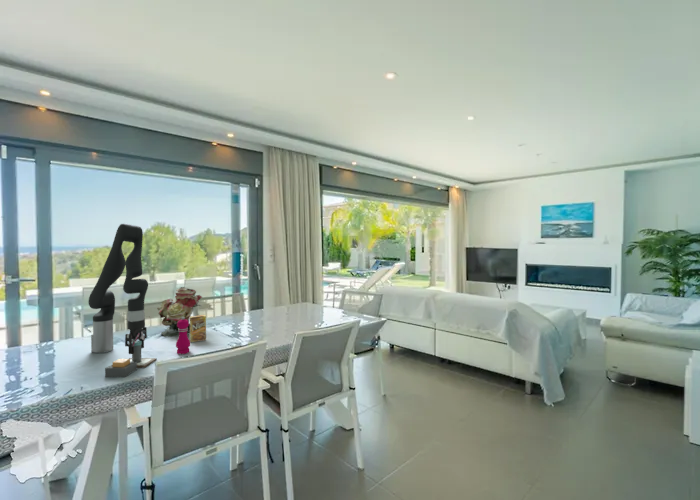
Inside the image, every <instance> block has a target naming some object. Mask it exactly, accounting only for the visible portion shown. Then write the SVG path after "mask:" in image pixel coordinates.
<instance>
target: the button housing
mask: <svg viewBox="0 0 700 500" xmlns="http://www.w3.org/2000/svg"><path fill="white" fill-rule="evenodd" d="M137 370H138V368H137V361H130V364H128V365H126V366H125V367H112V364H111V365H108V366H107V367H105V368H104V377H105V378H126V377H128V376H129V375H131V374H132V373H134V372H136V371H137Z"/></svg>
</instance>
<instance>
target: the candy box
mask: <svg viewBox="0 0 700 500" xmlns="http://www.w3.org/2000/svg"><path fill="white" fill-rule="evenodd" d="M189 324H190V333H189V340H190V343H196V342H202V341H207V315H205V314H201V315H200V314H198V315H193V316H190V317H189Z"/></svg>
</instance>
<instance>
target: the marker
mask: <svg viewBox="0 0 700 500" xmlns="http://www.w3.org/2000/svg"><path fill="white" fill-rule="evenodd" d="M141 344H142V341H139V340H137V341H136V342H135V344H134V354H131V358H132V361H137V363H139V362H141V358H142V348H141Z"/></svg>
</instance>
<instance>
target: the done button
mask: <svg viewBox="0 0 700 500" xmlns="http://www.w3.org/2000/svg"><path fill="white" fill-rule="evenodd" d="M128 364H130V359H129V358H118V359H116V360H114V361H112V364H111V365H112V367H125V366H126V365H128Z"/></svg>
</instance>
